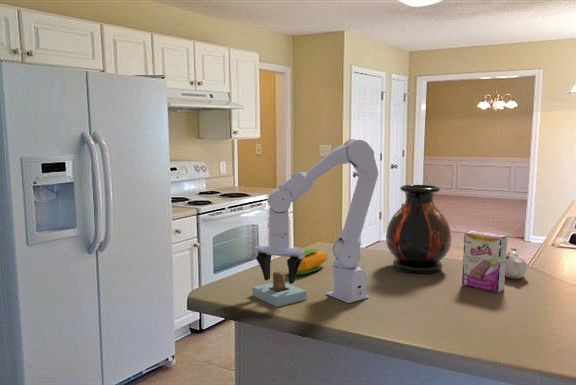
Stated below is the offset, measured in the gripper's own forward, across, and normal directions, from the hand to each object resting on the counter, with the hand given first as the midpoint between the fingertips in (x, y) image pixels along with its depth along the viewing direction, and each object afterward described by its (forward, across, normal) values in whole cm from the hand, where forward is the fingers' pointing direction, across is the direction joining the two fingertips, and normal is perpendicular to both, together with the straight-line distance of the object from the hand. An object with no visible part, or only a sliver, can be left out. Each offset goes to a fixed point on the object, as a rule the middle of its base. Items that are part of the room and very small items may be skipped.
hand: (279, 281), depth 142 cm
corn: (+5, +3, -29) cm, 29 cm away
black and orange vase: (+5, -29, -48) cm, 56 cm away
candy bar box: (+5, -51, -34) cm, 61 cm away
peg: (+5, 0, 0) cm, 5 cm away
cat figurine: (+6, -58, -50) cm, 77 cm away
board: (+5, 0, 0) cm, 5 cm away
